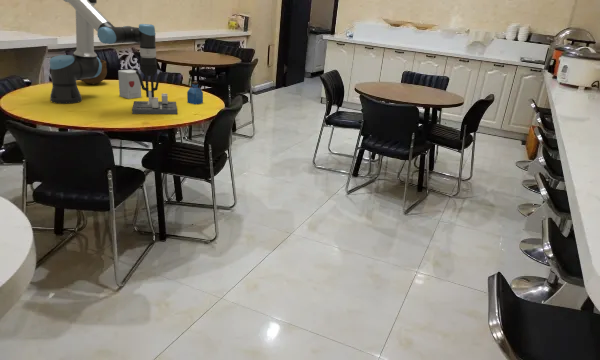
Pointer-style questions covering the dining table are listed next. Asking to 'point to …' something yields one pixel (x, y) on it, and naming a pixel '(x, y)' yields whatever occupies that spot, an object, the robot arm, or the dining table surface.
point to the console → (146, 108)
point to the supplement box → (129, 84)
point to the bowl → (100, 76)
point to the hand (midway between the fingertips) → (150, 103)
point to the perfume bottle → (195, 94)
